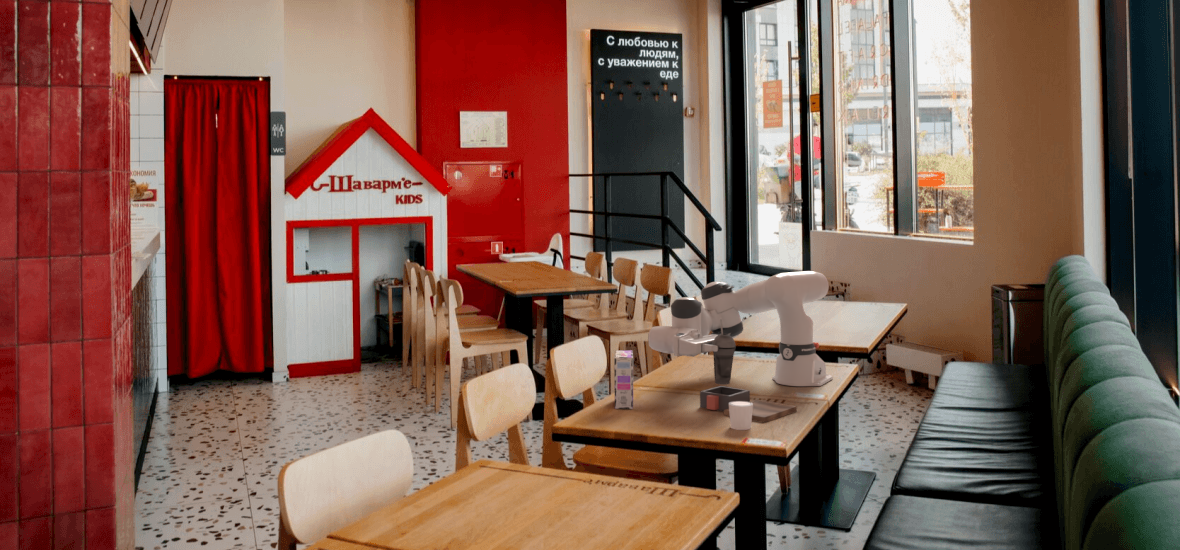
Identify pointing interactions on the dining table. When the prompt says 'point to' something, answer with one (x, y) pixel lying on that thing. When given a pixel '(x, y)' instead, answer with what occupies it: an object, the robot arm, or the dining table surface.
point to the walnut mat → (768, 410)
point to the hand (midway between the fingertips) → (726, 346)
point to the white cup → (740, 414)
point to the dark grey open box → (722, 397)
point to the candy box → (623, 379)
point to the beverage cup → (723, 357)
